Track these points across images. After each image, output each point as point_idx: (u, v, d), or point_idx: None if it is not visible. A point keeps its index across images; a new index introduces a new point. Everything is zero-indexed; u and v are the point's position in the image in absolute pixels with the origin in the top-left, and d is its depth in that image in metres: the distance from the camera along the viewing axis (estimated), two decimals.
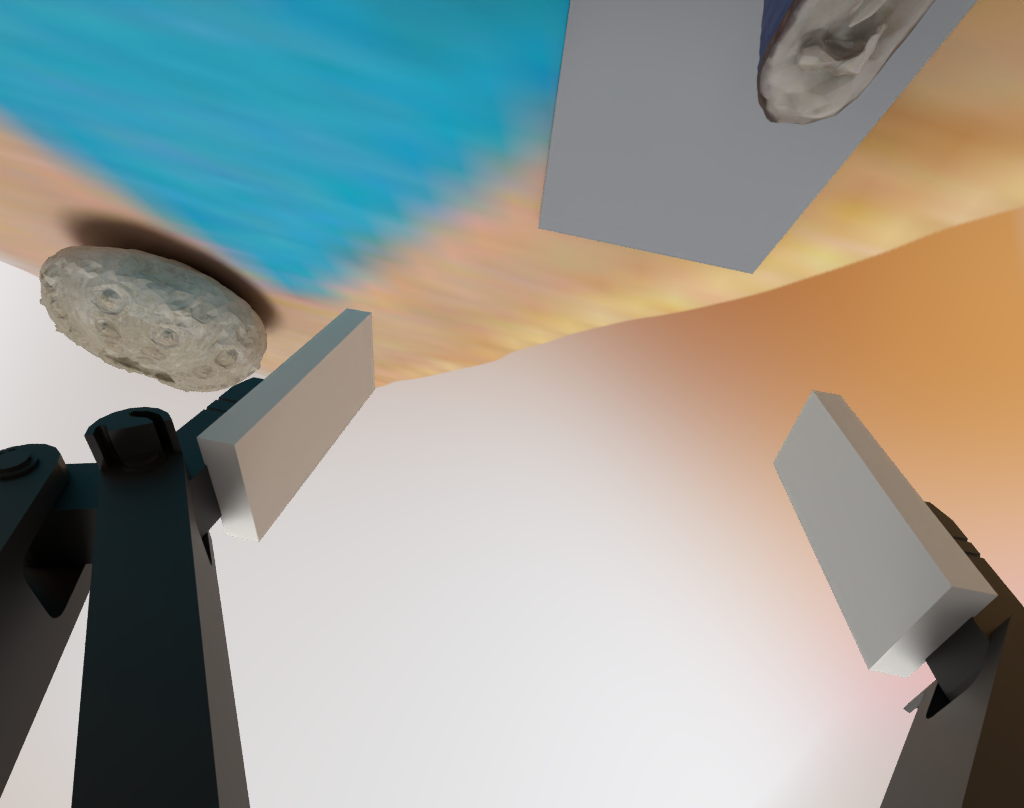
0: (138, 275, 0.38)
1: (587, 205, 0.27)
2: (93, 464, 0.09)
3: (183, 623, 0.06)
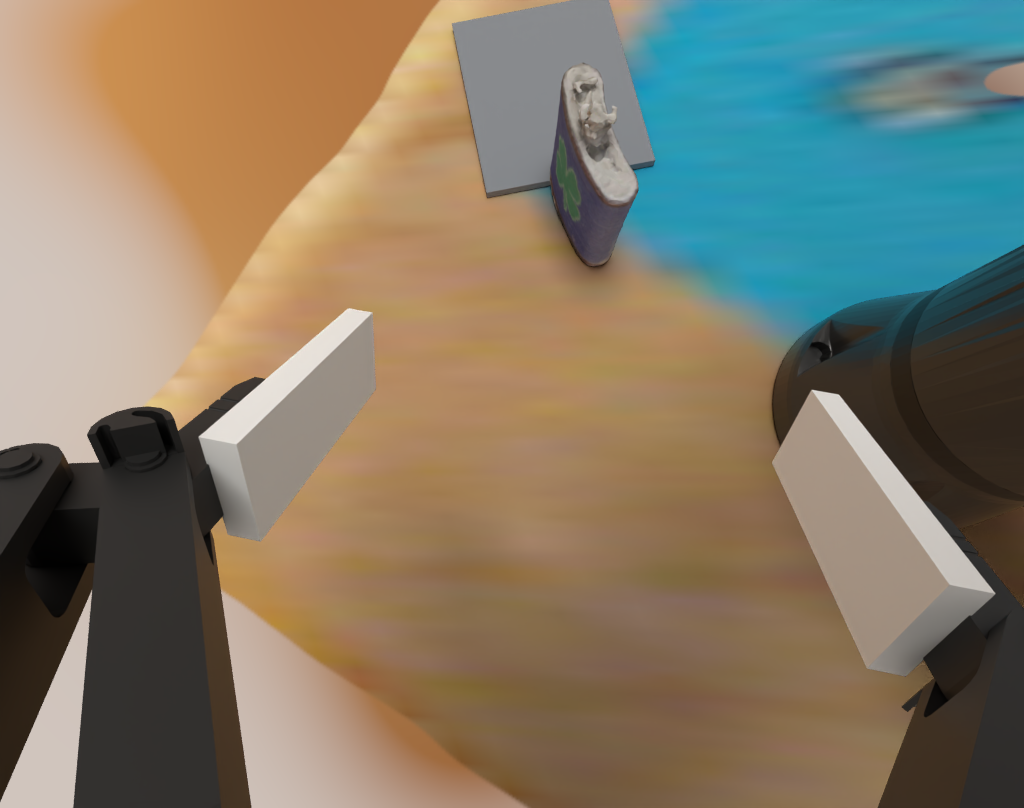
0: None
1: (583, 24, 0.40)
2: (95, 464, 0.09)
3: (185, 622, 0.06)
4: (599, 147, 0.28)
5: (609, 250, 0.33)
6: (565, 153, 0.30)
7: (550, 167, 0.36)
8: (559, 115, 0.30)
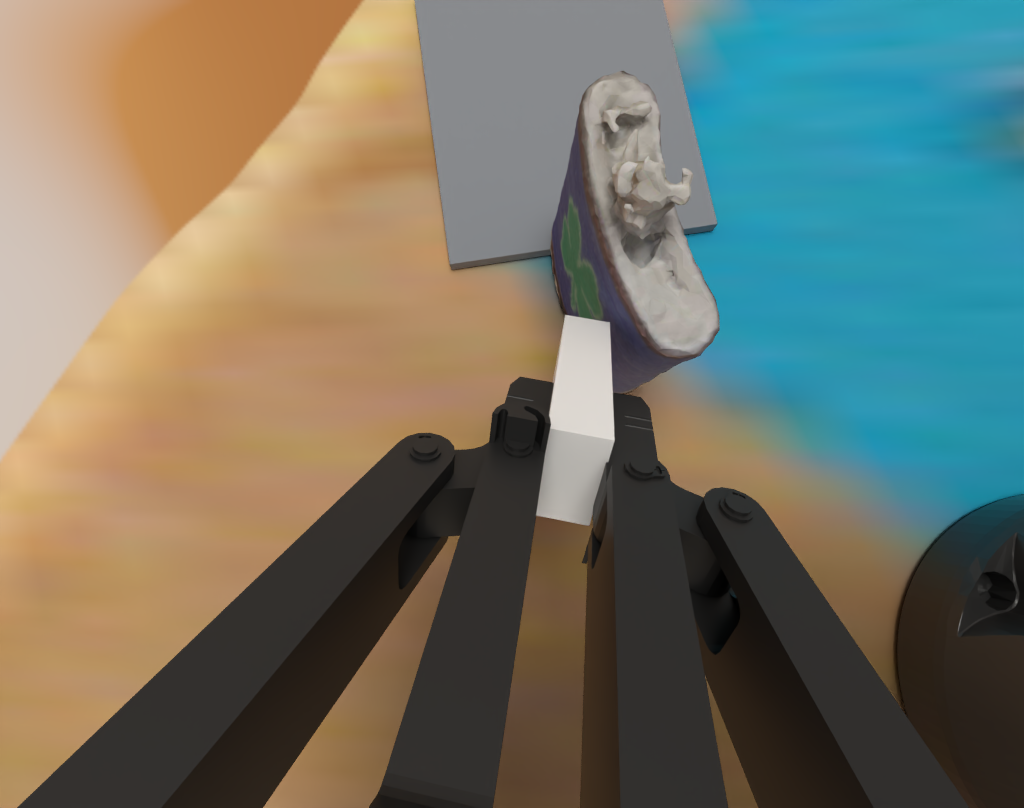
0: None
1: (614, 1, 0.26)
2: (458, 451, 0.11)
3: (509, 606, 0.07)
4: (645, 236, 0.15)
5: None
6: (579, 233, 0.17)
7: (552, 230, 0.23)
8: (571, 162, 0.17)
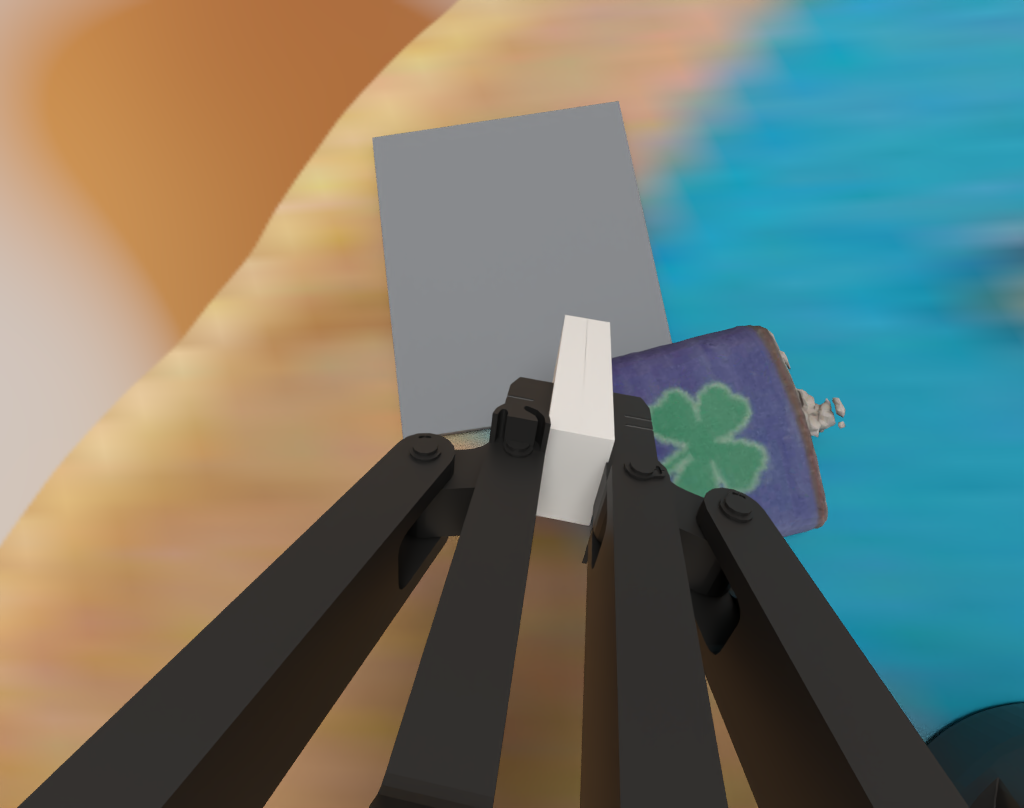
0: None
1: (579, 150, 0.25)
2: (459, 451, 0.11)
3: (509, 606, 0.07)
4: None
5: None
6: (745, 416, 0.19)
7: None
8: (728, 360, 0.20)
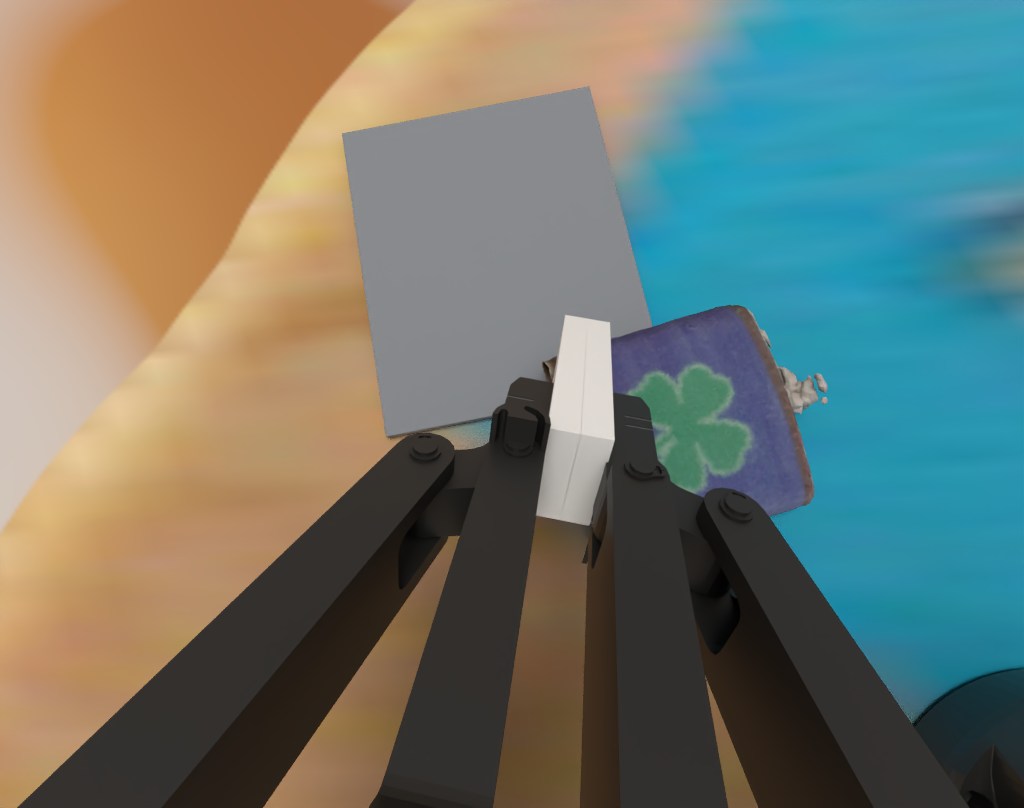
0: None
1: (551, 137, 0.25)
2: (459, 451, 0.11)
3: (509, 606, 0.07)
4: None
5: None
6: (727, 397, 0.19)
7: None
8: (708, 340, 0.20)
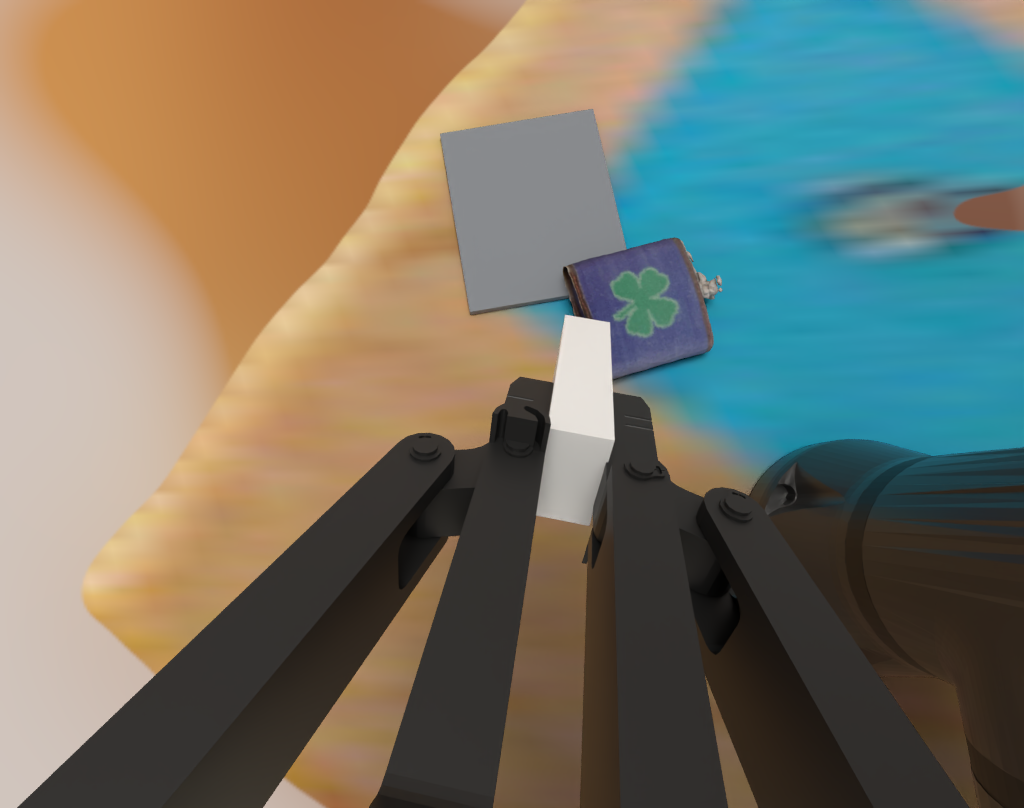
0: None
1: (569, 139, 0.40)
2: (459, 451, 0.11)
3: (509, 606, 0.07)
4: None
5: None
6: (666, 285, 0.35)
7: (577, 270, 0.35)
8: (657, 255, 0.36)
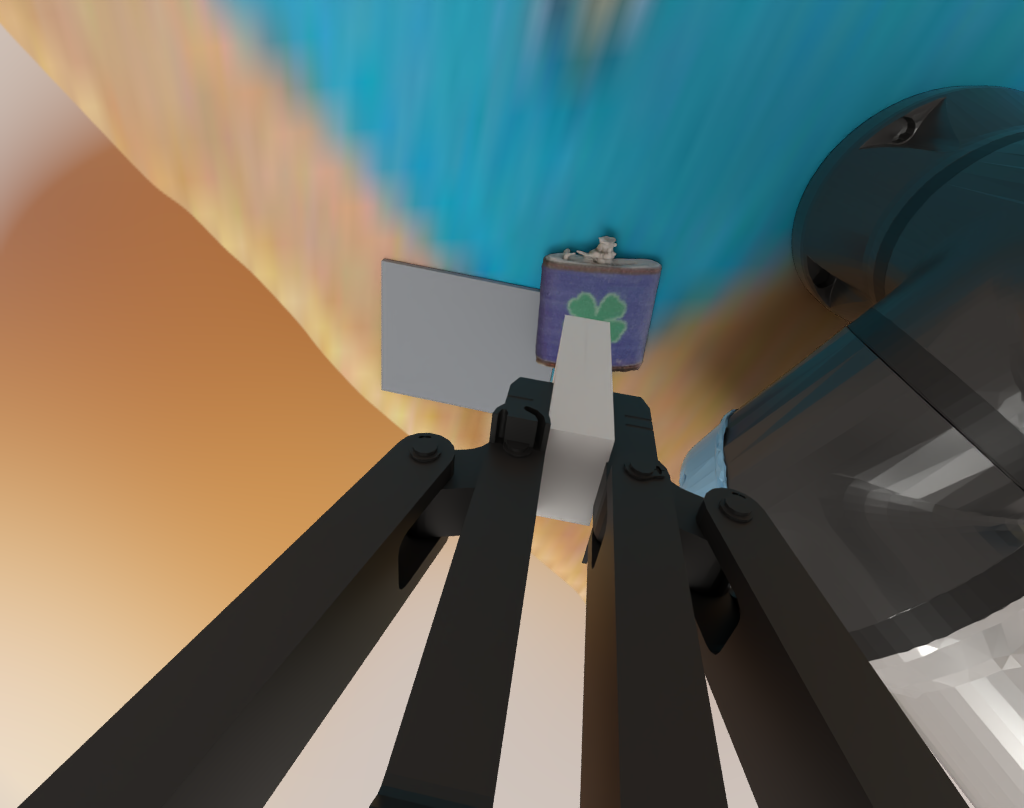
0: None
1: (409, 294, 0.42)
2: (458, 451, 0.11)
3: (509, 606, 0.07)
4: None
5: None
6: (590, 297, 0.37)
7: (546, 359, 0.41)
8: (559, 291, 0.38)
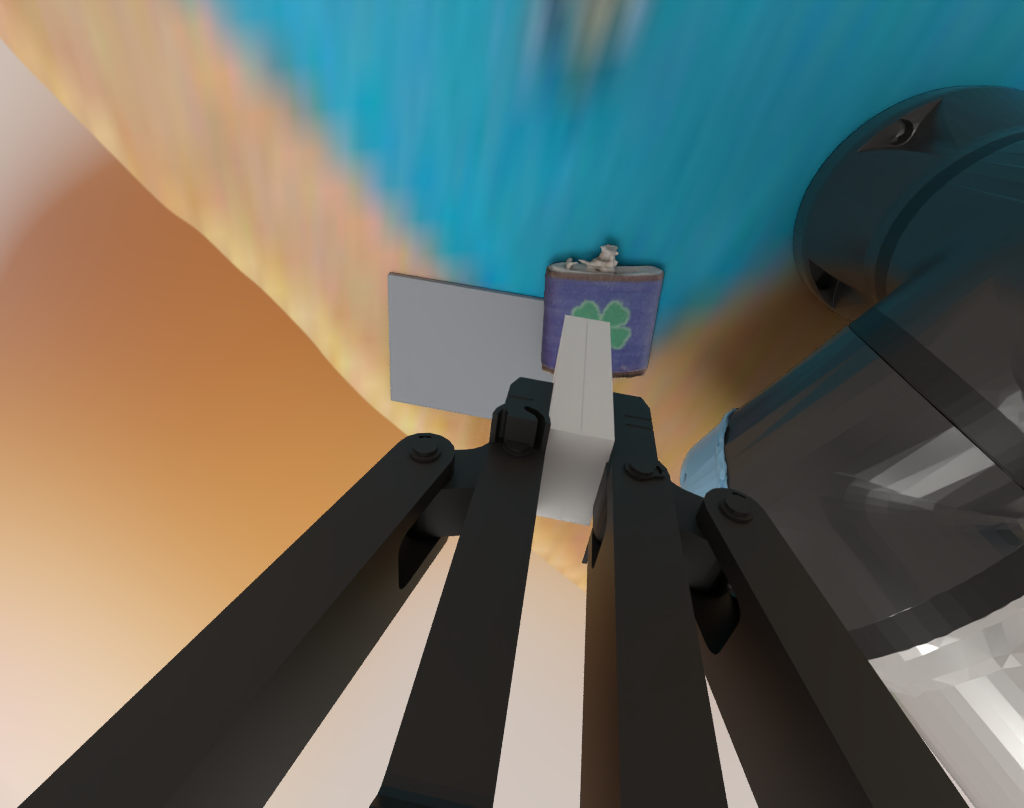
0: None
1: (416, 307, 0.43)
2: (458, 451, 0.11)
3: (509, 607, 0.07)
4: None
5: None
6: (593, 305, 0.38)
7: (552, 367, 0.41)
8: (562, 299, 0.38)
